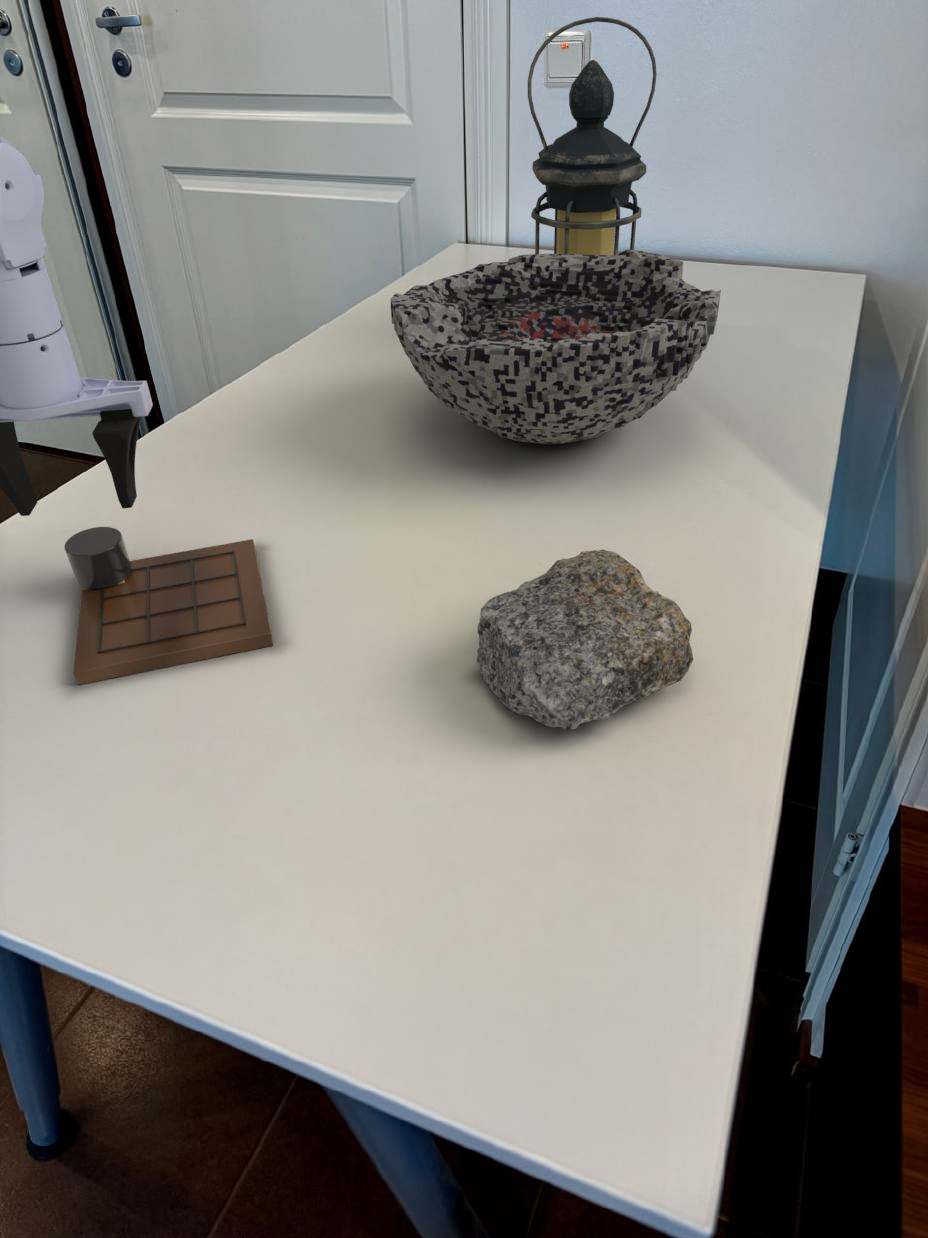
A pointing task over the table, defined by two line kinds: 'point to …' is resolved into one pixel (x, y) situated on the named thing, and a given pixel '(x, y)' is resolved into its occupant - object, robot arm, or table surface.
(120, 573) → the dark grey cylinder
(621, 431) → the table surface
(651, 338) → the bowl
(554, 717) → the rock
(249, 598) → the board
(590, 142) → the lantern
